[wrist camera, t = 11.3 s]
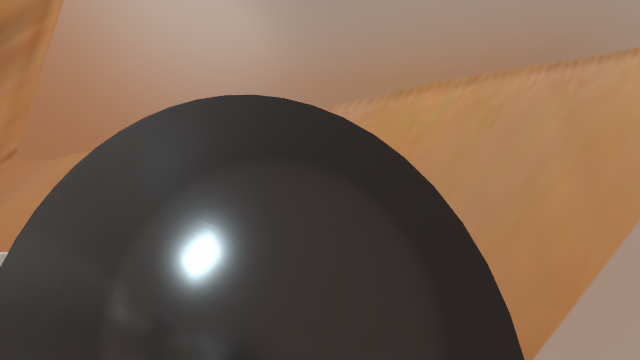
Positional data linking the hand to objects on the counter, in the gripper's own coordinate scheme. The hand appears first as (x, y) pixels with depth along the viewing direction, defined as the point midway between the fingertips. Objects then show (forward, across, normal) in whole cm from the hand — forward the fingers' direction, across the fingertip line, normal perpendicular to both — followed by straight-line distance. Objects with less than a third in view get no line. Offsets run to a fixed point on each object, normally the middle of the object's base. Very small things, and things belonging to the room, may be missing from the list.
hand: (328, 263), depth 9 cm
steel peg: (+6, 0, +7) cm, 9 cm away
